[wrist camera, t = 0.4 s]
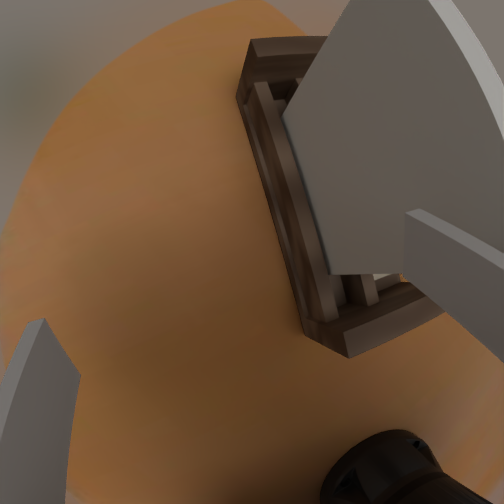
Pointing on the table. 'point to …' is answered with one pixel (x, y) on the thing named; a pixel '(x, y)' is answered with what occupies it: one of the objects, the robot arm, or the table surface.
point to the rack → (300, 219)
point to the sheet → (398, 132)
